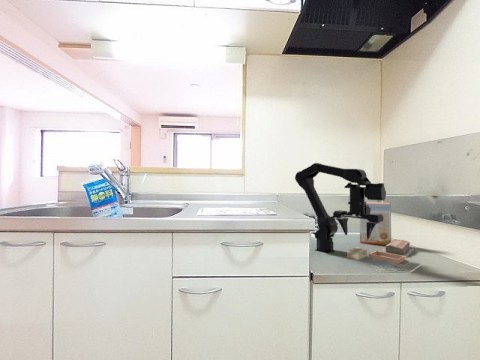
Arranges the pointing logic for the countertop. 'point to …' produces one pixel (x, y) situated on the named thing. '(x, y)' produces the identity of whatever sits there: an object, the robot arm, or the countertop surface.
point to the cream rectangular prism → (357, 253)
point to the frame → (398, 257)
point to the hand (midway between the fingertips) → (356, 236)
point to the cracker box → (377, 225)
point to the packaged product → (398, 248)
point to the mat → (377, 261)
